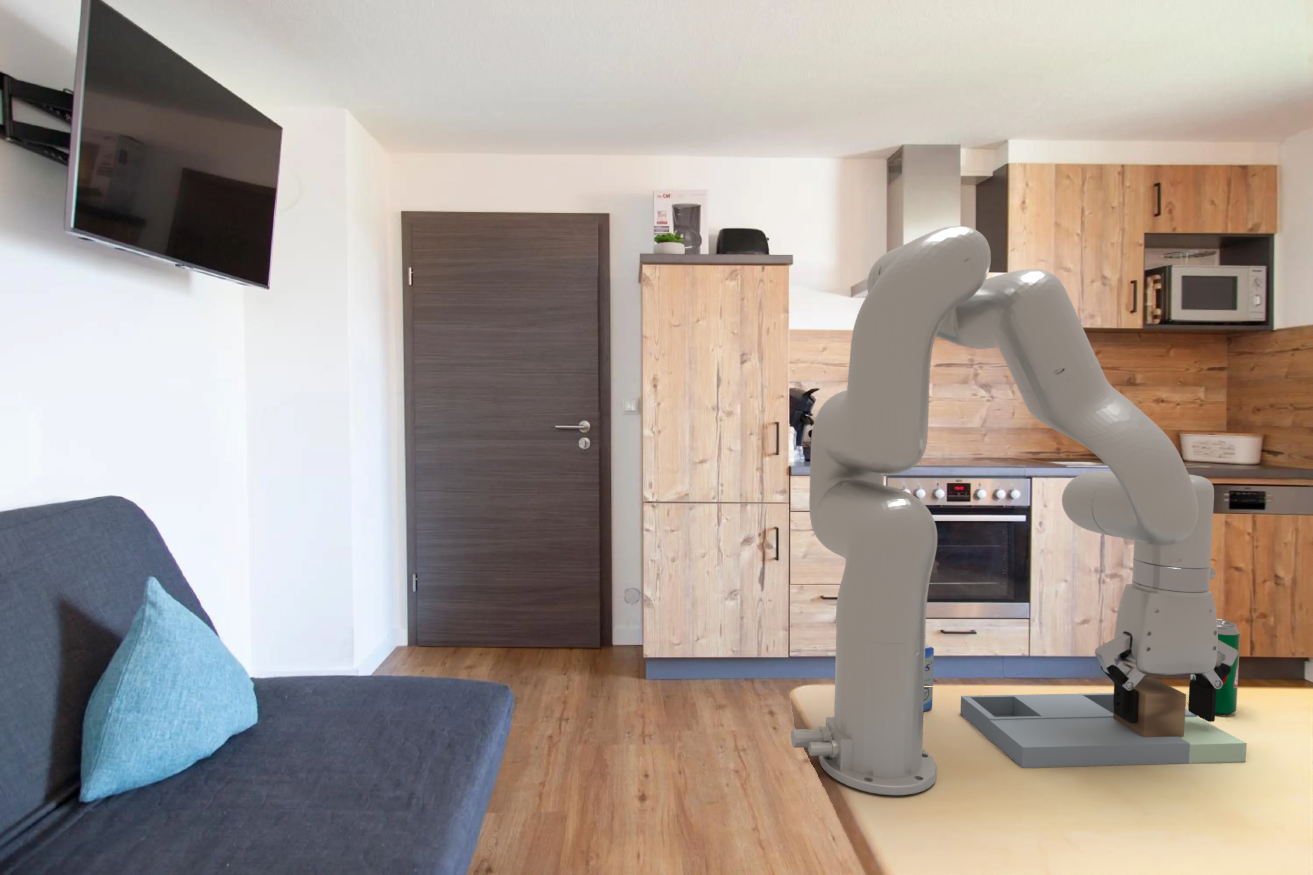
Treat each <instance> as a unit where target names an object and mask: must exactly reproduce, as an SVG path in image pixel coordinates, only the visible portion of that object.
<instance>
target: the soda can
mask: <svg viewBox="0 0 1313 875" xmlns="http://www.w3.org/2000/svg"><path fill="white" fill-rule="evenodd" d="M1217 628H1218V640H1220V641H1222V642H1223V643H1225V644H1227V645H1229V646H1231V647H1232V648H1234V649H1236V650H1237V651H1238V655H1237V657H1236V659H1235V661H1234V663H1233V665H1232V666H1230V667H1231V672H1230V673H1229V674H1228V675H1227V676H1226V677H1225V678H1224V679H1223V680H1222V682H1223V685H1222V687H1221V688H1220V689H1216V706H1215V716H1222V715H1226V716H1231V715H1232V714H1234V713H1235V712H1236V711H1237V704H1238V702H1237V701H1238V683H1239V682H1238V681H1239V664H1240V662H1239V661H1240V647H1241V646H1240V645H1241V644H1240V643H1241V633H1240V631H1239V630H1238V625H1237V624H1236V623H1235V622H1232V621H1229V620H1225V619H1220V618H1217ZM1189 675H1190V679H1189V681H1190V680H1196V679H1195V677H1194V676H1193V675H1192V674H1189Z"/></svg>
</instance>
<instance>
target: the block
mask: <svg viewBox="0 0 1313 875" xmlns="http://www.w3.org/2000/svg"><path fill="white" fill-rule="evenodd" d="M1133 689H1135V690H1137V691H1138V693H1139V702H1138V721H1137V723H1129V722H1128V721H1126V720H1124V719H1123V718H1121V717H1119V716H1118V715H1116V714H1115V713H1113V718H1114V719H1115V720H1117V721H1118V722H1120V723H1122V724H1123V725H1125V726H1127V727H1128V728H1130V729H1131V730H1133V731H1135V732H1136V733H1138V734H1139V735H1141V736H1143V737H1172V736H1184V726H1185V709H1187V707H1186V706H1187V705H1186V704H1187V693H1184V692H1183V691H1181V690H1178V689H1176V688H1174V687H1172V686H1171V685H1168V684H1166V683H1164V682H1162V681H1160V680H1159V679H1157V678H1155V677H1143V678H1142V679H1141V680H1140V681H1139V683H1138V684H1137V685H1136V686H1135V687H1134V688H1133Z"/></svg>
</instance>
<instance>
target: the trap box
mask: <svg viewBox="0 0 1313 875" xmlns="http://www.w3.org/2000/svg"><path fill="white" fill-rule="evenodd" d="M1113 699H1114V692H1099V693H1098V692H1097V693H1095V692H1093V693H1091V692H1090V693H1087V692H1086V693H1047V694H1046V693H1045V694H1043V693H1042V694H1041V693H1040V694H1039V693H1037V694H1035V693H1034V694H999V695H998V694H991V695H988V694H987V695H979V694H978V695H960V715H961V716H962V717H963V719H965V720H966V721H968V722H969V723H970V724H971V725H972V726H974V728H975V729H977V731H979V732H980V733H981V734H982V735H984V736H985V737H986V738H987V739H988V740H989V741H991V743H993V744H994V745H995V746H996V747H997V748H999V749H1000V750H1001V751H1002V752H1003V753H1005V754H1006V755H1007V756H1008V757H1009V758H1010V759H1011V760H1012V761H1014V762H1015V763H1016V764H1017V765H1018V766H1019V767H1020V768H1023V769H1027V768H1028V769H1029V768H1030V769H1031V768H1063V767H1065V768H1066V767H1096V766H1097V767H1100V766H1103V767H1104V766H1105V767H1106V766H1134V765H1136V766H1137V765H1143V766H1144V765H1173V764H1174V765H1177V764H1207V763H1208V764H1211V763H1213V764H1214V763H1216V764H1217V763H1245V762H1247V746H1248V745H1247V744H1248V743H1247V742H1245V741H1244V740H1241V739H1239V738H1237V737H1236V736H1235V735H1232V734H1230V733H1229V732H1226V731H1224V730H1223V729H1220V728H1219V727H1217V726H1216V725H1214V724H1211V723H1210V722H1208V721H1206V720H1204V719H1202V718H1200V717H1198V716H1196V715H1194V714H1193V713H1191V712H1189V710H1188V708H1185V726H1184V736H1172V737H1143V736H1141V735H1139V734H1138V733H1136V732H1135V731H1133V730H1131V729H1130V728H1128V727H1127V726H1125V725H1123V724H1122V723H1120V722H1118V721H1117V720H1115V719H1114V718H1113V713H1114V707H1113Z"/></svg>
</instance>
